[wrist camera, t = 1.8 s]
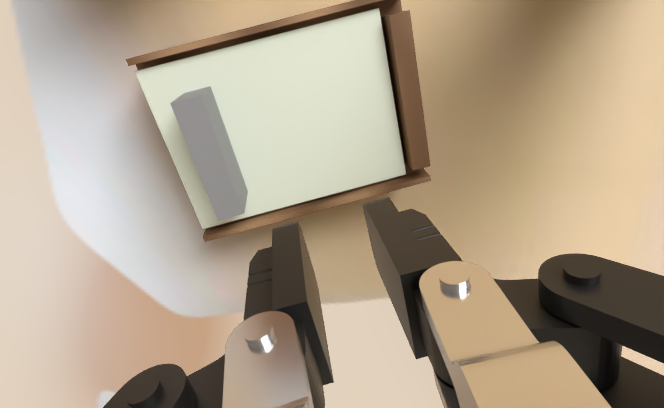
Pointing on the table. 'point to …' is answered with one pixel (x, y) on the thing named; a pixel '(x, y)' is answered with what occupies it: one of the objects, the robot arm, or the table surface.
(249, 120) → the cover plate
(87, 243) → the table surface
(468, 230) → the table surface
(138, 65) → the walnut box
